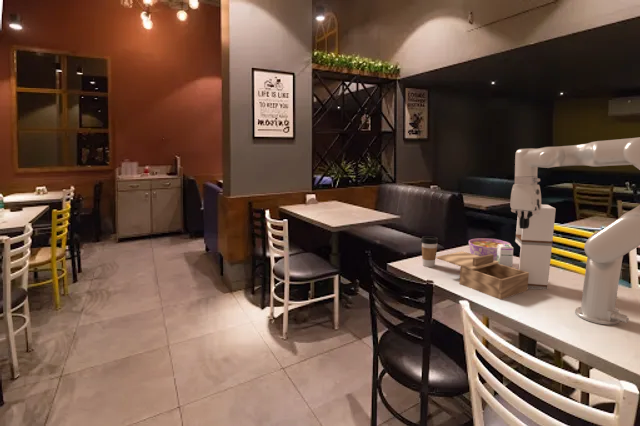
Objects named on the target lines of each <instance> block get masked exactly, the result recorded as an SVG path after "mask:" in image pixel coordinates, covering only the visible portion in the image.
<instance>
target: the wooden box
mask: <svg viewBox="0 0 640 426" xmlns="http://www.w3.org/2000/svg"><path fill="white" fill-rule="evenodd" d="M459 267H460V268H459V269H460V270H459V285H461V286H464V287H467V288H469V289H471V288H472V290H475V291H477V292H480V293H482V294H485V295H488V296H491V297H493V298H495V299H498V300H503V299H506V298H509V297H512V296H515V295H519V294H522V293H525V292H527V291H528V289H529V288H528V277H529V272H525V271H522V270H519V268H515V267H513V266H512V267H508V266H505V265H501V264H494V265H490V266H486V267H483V268H479V269H475V270H470V269H467V268H464V267H461V266H459Z"/></svg>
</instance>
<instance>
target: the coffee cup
mask: <svg viewBox="0 0 640 426" xmlns="http://www.w3.org/2000/svg"><path fill="white" fill-rule="evenodd" d="M420 241H421V258H422V259H421V261H422V266H423V267H426V268H433V267H435V265H436V259H437V258H436V257H437V251H438V243H439V240H438V237H437V236H432V235H431V236H429V235H425V236H423V235H422V236H421V240H420Z"/></svg>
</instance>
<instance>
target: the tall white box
mask: <svg viewBox="0 0 640 426" xmlns="http://www.w3.org/2000/svg"><path fill="white" fill-rule="evenodd" d="M556 209H557V208H555V207H553V206H551V205H549V204H541V209H540V210H539V214H535V215H532V216H531V218H529V227H528V228H526V229H523V228H520V225H519V221H520V218H518V216H517V218H516V219H517V220H516V228H515V229H516V231H515V240H514V242H515V243H516V244H517V245H518V246H519V247H520V252H519V262H518V263H519V264H518V269H519V270H522V271H525V272H529V277H528V288H527V289H534V290H545V291H547V290H549V289H548V287H549V286H548V285H549V278H550V277H549V276H550V266H551V259H552V249H553V248H552V247H553V240H554V239H553V238H554V231H555V222H556V221H555V219H556ZM532 212H533V211H532Z"/></svg>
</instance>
